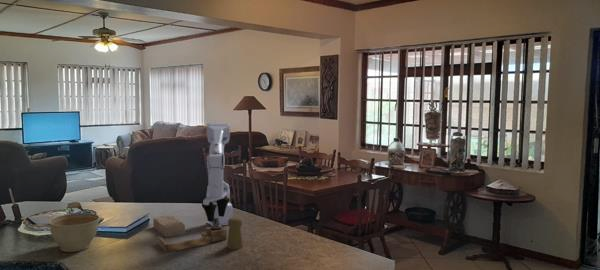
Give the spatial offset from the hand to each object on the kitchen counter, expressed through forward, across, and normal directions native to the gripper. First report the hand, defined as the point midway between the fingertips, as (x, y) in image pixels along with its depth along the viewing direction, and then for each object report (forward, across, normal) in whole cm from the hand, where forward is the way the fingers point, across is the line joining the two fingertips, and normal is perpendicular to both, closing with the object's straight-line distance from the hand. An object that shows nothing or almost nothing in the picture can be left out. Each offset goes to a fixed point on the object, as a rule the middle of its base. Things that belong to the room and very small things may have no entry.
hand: (216, 218), depth 169 cm
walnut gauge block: (+8, 0, 0) cm, 8 cm away
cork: (+8, +5, +11) cm, 15 cm away
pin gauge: (+8, 0, 0) cm, 8 cm away
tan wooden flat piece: (+8, +10, -8) cm, 15 cm away
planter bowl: (+8, +30, -41) cm, 51 cm away
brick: (+9, -1, -23) cm, 25 cm away
